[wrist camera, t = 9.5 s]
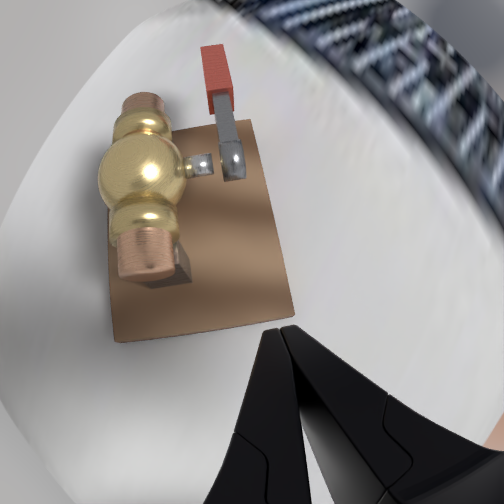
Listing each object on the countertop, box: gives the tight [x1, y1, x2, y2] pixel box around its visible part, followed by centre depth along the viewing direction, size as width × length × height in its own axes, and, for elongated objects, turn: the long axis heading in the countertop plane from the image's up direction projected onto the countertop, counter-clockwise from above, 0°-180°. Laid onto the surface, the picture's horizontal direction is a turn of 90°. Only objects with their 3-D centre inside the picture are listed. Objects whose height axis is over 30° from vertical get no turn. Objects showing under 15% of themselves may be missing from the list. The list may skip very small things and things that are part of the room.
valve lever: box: [200, 44, 246, 182], centre depth 18 cm, size 2×2×11 cm
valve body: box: [98, 92, 214, 289], centre depth 18 cm, size 11×6×8 cm, turn 10°
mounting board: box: [108, 119, 295, 343], centre depth 23 cm, size 16×12×1 cm
